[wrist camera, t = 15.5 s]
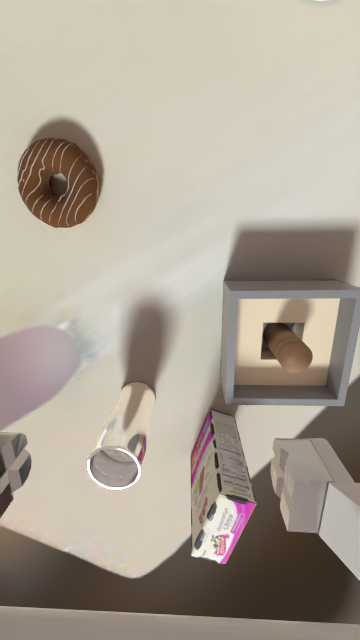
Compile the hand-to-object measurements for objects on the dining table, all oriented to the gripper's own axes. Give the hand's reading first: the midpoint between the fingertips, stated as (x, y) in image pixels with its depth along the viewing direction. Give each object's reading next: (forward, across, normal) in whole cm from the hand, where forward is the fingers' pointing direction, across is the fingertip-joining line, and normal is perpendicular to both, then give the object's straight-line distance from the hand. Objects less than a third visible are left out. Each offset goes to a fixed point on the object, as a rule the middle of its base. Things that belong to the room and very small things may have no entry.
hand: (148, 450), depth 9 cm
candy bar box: (+33, -5, +28) cm, 44 cm away
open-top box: (+33, -14, +8) cm, 37 cm away
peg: (+32, -14, +8) cm, 36 cm away
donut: (+34, +16, -13) cm, 39 cm away
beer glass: (+33, +8, +20) cm, 40 cm away
